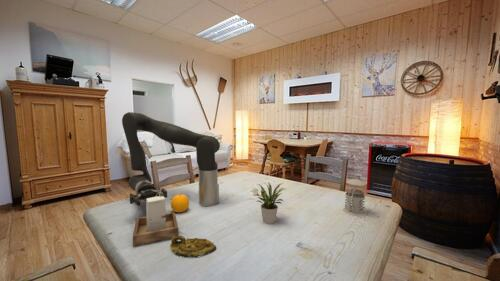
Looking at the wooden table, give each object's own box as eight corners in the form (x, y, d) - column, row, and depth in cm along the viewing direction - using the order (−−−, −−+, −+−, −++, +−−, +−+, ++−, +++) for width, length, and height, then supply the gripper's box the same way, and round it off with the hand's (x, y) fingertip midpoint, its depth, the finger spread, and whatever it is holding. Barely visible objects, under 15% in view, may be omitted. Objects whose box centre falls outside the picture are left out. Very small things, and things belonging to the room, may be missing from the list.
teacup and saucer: (266, 195, 118) (266, 188, 118) (259, 199, 112) (259, 192, 111) (253, 192, 123) (253, 185, 123) (245, 196, 116) (245, 189, 116)
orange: (167, 212, 94) (166, 196, 93) (179, 206, 101) (178, 190, 101) (181, 215, 91) (181, 198, 90) (192, 208, 98) (192, 193, 98)
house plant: (291, 216, 92) (292, 179, 90) (286, 231, 79) (287, 189, 77) (260, 211, 96) (260, 176, 95) (250, 225, 83) (251, 185, 82)
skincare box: (148, 235, 74) (147, 202, 73) (146, 229, 78) (145, 198, 77) (166, 230, 78) (165, 198, 76) (164, 225, 81) (163, 195, 80)
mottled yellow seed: (218, 244, 73) (174, 243, 72) (218, 230, 73) (174, 230, 72) (214, 258, 63) (164, 258, 63) (214, 243, 63) (164, 242, 63)
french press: (368, 211, 97) (372, 158, 94) (361, 220, 88) (365, 161, 86) (346, 205, 103) (349, 155, 101) (337, 213, 95) (340, 158, 92)
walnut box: (174, 220, 87) (174, 211, 86) (178, 237, 74) (178, 227, 74) (136, 227, 81) (136, 218, 81) (133, 246, 68) (132, 236, 68)
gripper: (127, 184, 93) (130, 195, 79) (161, 179, 101) (169, 188, 87) (127, 201, 93) (131, 214, 80) (161, 194, 101) (170, 206, 88)
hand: (151, 201), depth 84 cm, fingers open, 8 cm apart
